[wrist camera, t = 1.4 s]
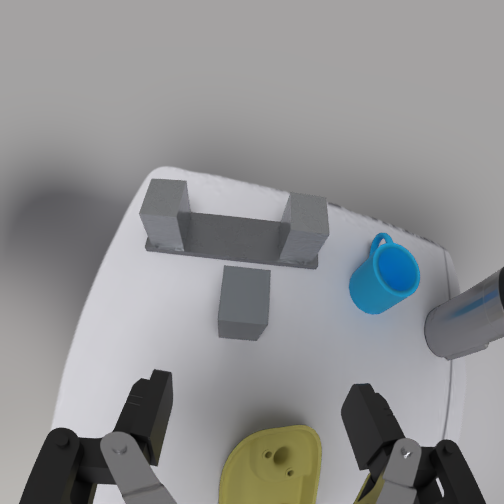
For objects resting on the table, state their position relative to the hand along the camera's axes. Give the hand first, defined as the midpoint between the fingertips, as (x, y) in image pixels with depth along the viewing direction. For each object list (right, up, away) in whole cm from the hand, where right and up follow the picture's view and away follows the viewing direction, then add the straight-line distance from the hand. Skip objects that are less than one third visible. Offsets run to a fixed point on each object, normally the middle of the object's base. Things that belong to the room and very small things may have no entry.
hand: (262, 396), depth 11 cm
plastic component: (+2, -25, +16) cm, 29 cm away
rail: (-3, +8, +32) cm, 33 cm away
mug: (+19, +2, +31) cm, 37 cm away
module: (-2, -3, +27) cm, 27 cm away
